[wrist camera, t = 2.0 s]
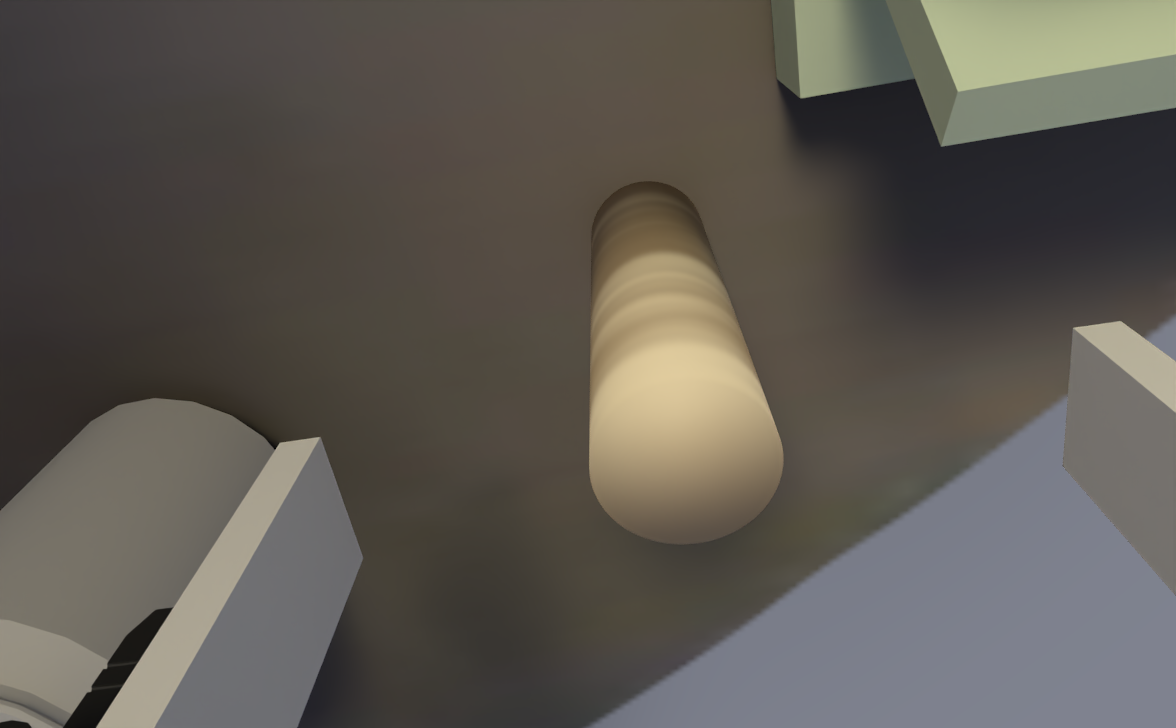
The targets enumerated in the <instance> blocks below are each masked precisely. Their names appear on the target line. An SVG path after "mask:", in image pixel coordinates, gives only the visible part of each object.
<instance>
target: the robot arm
mask: <svg viewBox="0 0 1176 728" xmlns="http://www.w3.org/2000/svg"><path fill="white" fill-rule="evenodd" d="M1063 467H1064V468H1065V469H1066V471H1067V472H1068V473H1069V474H1070V475H1071V476H1072V477H1073V479H1074V480H1075V481H1076V482H1077V483H1078V484H1079V485H1080V487H1081V488H1082V489H1083V490H1084V491H1085V492H1086V493H1087V495H1088V496H1089V497H1090V498H1091V499H1092V500H1093V501H1094V502H1095V504H1096V505H1097V506H1098V507H1099V508H1100V509H1101V510H1102V512H1103V513H1104V514H1105V515H1106V516H1107V517H1108V519H1109V520H1110V521H1111V522H1112V523H1113V524H1114V525H1115V527H1116V528H1117V529H1118V530H1119V531H1120V532H1121V534H1122V535H1123V536H1124V537H1125V538H1126V539H1127V540H1128V542H1129V543H1130V544H1131V545H1132V546H1133V547H1134V548H1135V550H1136V551H1137V552H1138V553H1139V554H1140V555H1141V556H1142V558H1143V559H1144V560H1145V561H1146V562H1147V563H1148V564H1149V566H1150V567H1151V568H1152V569H1153V570H1154V571H1155V572H1156V574H1157V575H1158V576H1159V577H1160V578H1161V579H1162V580H1163V582H1164V583H1165V584H1166V585H1167V586H1168V587H1169V588H1170V590H1171V591H1172V592H1173V593H1174V594H1175V595H1176V361H1174V360H1173V359H1171V358H1170V357H1169V356H1168V355H1166V354H1165V353H1163V352H1162V351H1161V350H1159V349H1158V348H1157V347H1155V346H1154V345H1153V344H1151V343H1150V342H1148V341H1147V340H1146V339H1144V338H1143V337H1142V336H1140V335H1139V334H1138V333H1136V332H1135V331H1134V330H1132V329H1131V328H1129V327H1128V326H1127V325H1125V324H1124V323H1123V322H1121V321H1118V322H1111V323H1104V324H1097V325H1090V326H1083V327H1076V328H1073V336H1072V349H1071V363H1070V376H1069V389H1068V403H1067V417H1066V429H1065V443H1064V457H1063ZM362 560H363V556H362V553H361V550H360V548H359V545H358V542H357V539H356V536H355V533H354V531H353V528H352V525H351V522H350V519H349V517H348V514H347V511H346V508H345V505H344V502H343V500H342V497H341V494H340V491H339V488H338V485H337V483H336V480H335V477H334V474H333V471H332V469H331V466H330V463H329V460H328V457H327V454H326V452H325V449H324V446H323V443H322V440H321V437H317V438H310V439H303V440H296V441H289V442H282V443H279V445H278V447H277V448H276V450H275V451H274V453H273V454H272V456H271V457H270V459H269V460H268V462H267V464H266V465H265V467H264V468H263V470H262V471H261V473H260V474H259V476H258V478H257V479H256V481H255V482H254V484H253V485H252V487H251V488H250V490H249V491H248V493H247V495H246V496H245V498H244V499H243V501H242V502H241V504H240V505H239V507H238V509H237V510H236V512H235V513H234V515H233V516H232V518H231V519H230V521H229V522H228V524H227V526H226V527H225V529H224V530H223V532H222V533H221V535H220V536H219V538H218V540H217V541H216V543H215V544H214V546H213V547H212V549H211V550H210V552H209V553H208V555H207V557H206V558H205V560H204V561H203V563H202V564H201V566H200V567H199V569H198V571H197V572H196V574H195V575H194V577H193V578H192V580H191V581H190V583H189V584H188V586H187V588H186V589H185V591H184V592H183V594H182V595H181V597H180V598H179V600H178V602H177V603H176V605H175V606H174V607H172V608H164V609H156V610H155V611H153V612H152V613H151V614H150V615H149V616H148V617H147V618H145V619H144V620H143V621H142V622H141V623H140V624H139V625H138V626H136V627H135V628H134V629H133V630H132V631H131V632H130V633H128V634H127V635H126V636H125V638H124V639H123V641H122V642H121V644H120V645H119V647H118V648H117V650H116V651H115V652H114V654H113V655H112V657H111V658H110V660H109V661H108V663H107V669H103V670H102V671H101V673H100V674H99V676H98V677H97V679H96V680H95V681H94V683H93V684H92V686H91V688H92V690H91V692H87V693H86V695H85V696H84V697H83V699H82V700H81V702H80V703H79V705H78V706H77V708H76V709H75V711H74V712H73V713H72V715H71V716H70V718H69V719H68V721H67V722H66V724H65V725H64V727H63V728H297V727H298V724H299V722H300V719H301V716H302V714H303V711H304V709H305V706H306V704H307V701H308V699H309V696H310V693H311V691H312V688H313V686H314V683H315V681H316V678H317V675H318V673H319V670H320V668H321V665H322V663H323V660H324V657H325V655H326V652H327V650H328V647H329V645H330V642H331V640H332V637H333V634H334V632H335V629H336V627H337V624H338V622H339V619H340V616H341V614H342V611H343V609H344V606H345V604H346V601H347V598H348V596H349V593H350V591H351V588H352V586H353V583H354V581H355V578H356V575H357V573H358V570H359V568H360V565H361V563H362ZM0 728H32V727H31V726H30V725H29V723H27V722H21V721H15V720H10V721H5V722H0Z"/></svg>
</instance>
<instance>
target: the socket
mask: <svg viewBox="0 0 1176 728" xmlns="http://www.w3.org/2000/svg"><path fill="white" fill-rule="evenodd" d="M771 8H772V22H773V36H774V49H775V63H776V77H777V79H778V80H779V81H780V82H781V83H783V84H784V85H785V86H786V87H787V88H789V89H790V90H791V91H792V92H793V93H795V94H796V95H797V96H798V97H799V98H806V97H812V96H818V95H823V94H829V93H835V92H841V91H846V90H852V89H858V88H864V87H870V86H875V85H881V84H887V83H893V82H898V81H904V80H910V79H916V82H917V85H918V87H919V90H920V93H921V95H922V98H923V101H924V103H925V106H926V108H927V111H928V114H929V116H930V119H931V122H932V124H933V127H934V130H935V132H936V135H937V137H938V140H939V143H940V145H941V147H943V146H949V145H955V144H961V143H967V142H973V141H979V140H985V139H991V138H997V137H1003V136H1009V135H1015V134H1021V133H1027V132H1033V131H1039V130H1045V129H1051V128H1057V127H1063V126H1069V125H1075V124H1081V123H1087V122H1093V121H1099V120H1105V119H1111V118H1117V117H1123V116H1129V115H1135V114H1141V113H1147V112H1153V111H1159V110H1165V109H1171V108H1176V0H771Z"/></svg>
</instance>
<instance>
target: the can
mask: <svg viewBox="0 0 1176 728" xmlns="http://www.w3.org/2000/svg"><path fill="white" fill-rule="evenodd" d="M274 451H275V450H274V448H273V447H272V446H271V445H270V444H269V443H268V442H267V440H266V439H265V438H264V437H263V436H261V435H260V434H258V433H257V432H255V431H254V430H252V429H251V428H249V427H248V426H246V425H245V424H243V423H242V422H240V421H239V420H237V419H236V418H235V417H233V416H232V415H229V414H226V413H223V412H221V411H218V410H215V409H212V408H210V407H207V406H204V405H201V404H198V403H196V402H191V401H181V400H170V399H159V398H152V399H147V400H142V401H137V402H132V403H126V404H121V405H118V406H116V407H115V408H113V409H111V410H110V411H108V412H106V413H104V414H103V415H101V416H99V417H98V418H96V419H94V420H92V421H91V422H90V423H89V424H88V425H87V426H86V427H85V428H84V429H83V430H82V431H81V432H80V433H79V434H78V435H77V436H76V437H75V438H74V439H73V440H72V441H71V442H70V443H69V444H68V445H66V446H65V447H64V448H63V449H62V450H61V451H60V452H59V453H58V454H57V455H56V456H55V457H54V458H53V459H52V460H51V461H50V462H49V463H48V464H47V465H46V466H45V467H44V468H43V469H42V470H41V471H40V472H39V473H38V474H37V475H36V476H35V477H34V478H33V479H32V480H31V481H30V482H29V483H28V484H27V485H26V486H25V487H24V488H23V489H22V490H21V491H20V492H19V493H18V494H17V495H16V496H15V497H14V498H13V499H12V500H11V501H10V502H9V503H8V504H7V505H6V506H5V507H4V508H3V509H2V510H1V511H0V722H5V721H10V720H15V721H21V722H27V723H29V725H30V726H31V727H32V728H63V727H64V725H65V724H66V722H67V721H68V719H69V718H70V716H71V715H72V713H73V712H74V711H75V709H76V708H77V706H78V705H79V703H80V702H81V700H82V699H83V697H84V696H85V695H86V693H87V692H91V690H92V688H91V686H92V684H93V683H94V681H95V680H96V679H97V677H98V676H99V674H100V673H101V671H102V670H103V669H107V663H108V661H109V660H110V658H111V657H112V655H113V654H114V652H115V651H116V650H117V648H118V647H119V645H120V644H121V642H122V641H123V639H124V638H125V636H126V635H127V634H128V633H130V632H131V631H132V630H133V629H134V628H135V627H136V626H138V625H139V624H140V623H141V622H142V621H143V620H144V619H145V618H147V617H148V616H149V615H150V614H151V613H152V612H153V611H155V610H156V609H164V608H172V607H174V606H175V605H176V603H177V602H178V600H179V598H180V597H181V595H182V594H183V592H184V591H185V589H186V588H187V586H188V584H189V583H190V581H191V580H192V578H193V577H194V575H195V574H196V572H197V571H198V569H199V567H200V566H201V564H202V563H203V561H204V560H205V558H206V557H207V555H208V553H209V552H210V550H211V549H212V547H213V546H214V544H215V543H216V541H217V540H218V538H219V536H220V535H221V533H222V532H223V530H224V529H225V527H226V526H227V524H228V522H229V521H230V519H231V518H232V516H233V515H234V513H235V512H236V510H237V509H238V507H239V505H240V504H241V502H242V501H243V499H244V498H245V496H246V495H247V493H248V491H249V490H250V488H251V487H252V485H253V484H254V482H255V481H256V479H257V478H258V476H259V474H260V473H261V471H262V470H263V468H264V467H265V465H266V464H267V462H268V460H269V459H270V457H271V456H272V454H273V453H274Z"/></svg>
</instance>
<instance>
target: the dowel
mask: <svg viewBox="0 0 1176 728" xmlns="http://www.w3.org/2000/svg"><path fill="white" fill-rule="evenodd" d="M782 469H783V449H782V443H781V440H780V437H779V434H778V431H777V428H776V426H775V423H774V420H773V417H772V414H771V412H770V409H769V406H768V403H767V401H766V398H765V395H764V392H763V390H762V387H761V384H760V381H759V379H758V376H757V373H756V370H755V368H754V365H753V362H752V359H751V357H750V354H749V351H748V348H747V345H746V343H745V340H744V337H743V334H742V332H741V329H740V326H739V323H738V321H737V318H736V315H735V312H734V310H733V307H732V304H731V301H730V299H729V296H728V293H727V290H726V287H725V285H724V282H723V279H722V276H721V274H720V271H719V268H718V265H717V263H716V260H715V257H714V254H713V252H712V249H711V246H710V243H709V241H708V238H707V235H706V232H705V230H704V227H703V224H702V221H701V218H700V216H699V213H698V211H697V209H696V207H695V206H694V204H693V203H692V202H691V200H690V199H689V198H688V197H687V196H686V195H685V194H683V193H682V192H681V191H679V190H678V189H676V188H674V187H672V186H670V185H667V184H663V183H659V182H638V183H634V184H630V185H628V186H625V187H623V188H621V189H619V190H618V191H616V192H615V193H613V194H612V195H611V196H610V197H609V198H608V199H607V200H606V201H605V202H604V203H603V204H602V206H601V207H600V209H599V210H598V212H597V214H596V217H595V219H594V223H593V227H592V246H591V346H590V445H589V472H590V480H591V484H592V487H593V491H594V493H595V495H596V497H597V499H598V501H599V503H600V504H601V506H602V507H603V509H604V510H605V511H606V512H607V513H608V515H609V516H610V517H611V518H612V519H613V520H615V521H616V522H617V523H618V524H619V525H621V526H622V527H624V528H625V529H627V530H628V531H630V532H632V533H634V534H636V535H638V536H640V537H643V538H646V539H649V540H652V541H656V542H660V543H668V544H684V545H685V544H697V543H703V542H708V541H712V540H715V539H719V538H722V537H724V536H726V535H729V534H731V533H733V532H735V531H737V530H739V529H740V528H742V527H744V526H745V525H746V524H748V523H749V522H751V521H752V520H753V519H754V518H755V517H756V516H757V515H759V514H760V513H761V512H762V510H763V509H764V508H765V507H766V506H767V505H768V503H769V502H770V500H771V499H772V497H773V495H774V494H775V491H776V489H777V487H778V485H779V482H780V479H781V475H782Z"/></svg>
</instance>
